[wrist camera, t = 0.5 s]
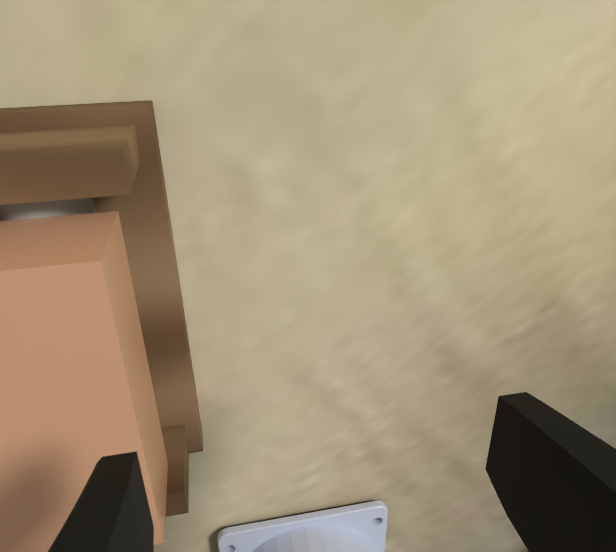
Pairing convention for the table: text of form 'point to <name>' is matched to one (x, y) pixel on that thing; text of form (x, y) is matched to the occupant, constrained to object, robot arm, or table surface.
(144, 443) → the tile
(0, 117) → the track
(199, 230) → the table surface
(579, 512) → the robot arm
